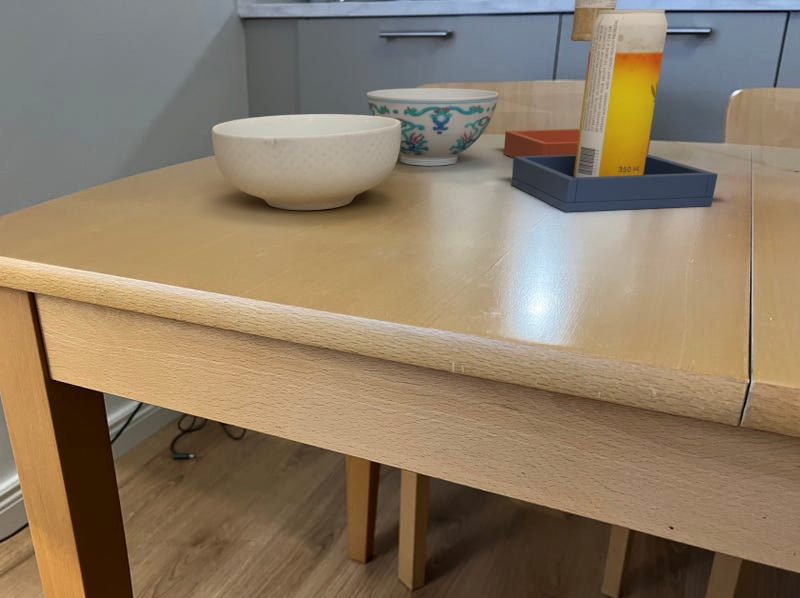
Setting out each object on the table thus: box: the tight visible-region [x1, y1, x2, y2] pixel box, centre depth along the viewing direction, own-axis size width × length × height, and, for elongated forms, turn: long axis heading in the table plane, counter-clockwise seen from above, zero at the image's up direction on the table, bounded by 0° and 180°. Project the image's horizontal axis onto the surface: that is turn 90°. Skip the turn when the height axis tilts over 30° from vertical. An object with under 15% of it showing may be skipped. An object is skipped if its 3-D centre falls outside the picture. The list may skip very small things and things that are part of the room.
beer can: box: [574, 8, 669, 177], centre depth 68 cm, size 6×6×15 cm
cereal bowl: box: [211, 113, 401, 211], centre depth 68 cm, size 17×17×7 cm
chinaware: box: [366, 87, 499, 167], centre depth 88 cm, size 15×15×8 cm
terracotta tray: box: [503, 128, 651, 159], centre depth 89 cm, size 13×12×3 cm
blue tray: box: [510, 153, 718, 213], centre depth 70 cm, size 14×13×3 cm
